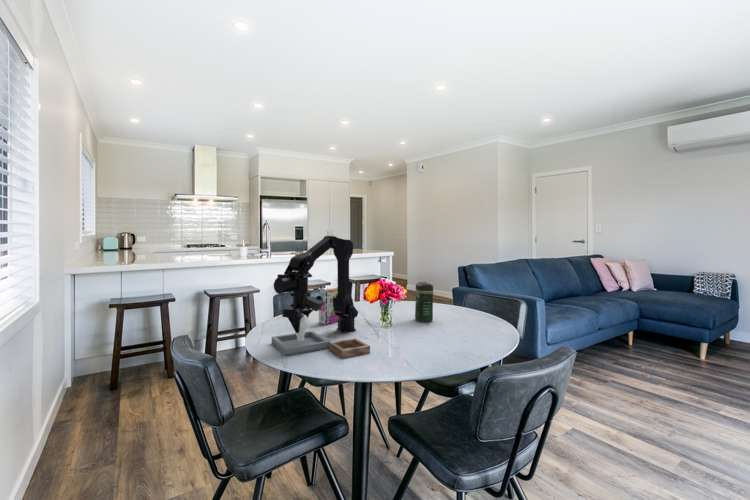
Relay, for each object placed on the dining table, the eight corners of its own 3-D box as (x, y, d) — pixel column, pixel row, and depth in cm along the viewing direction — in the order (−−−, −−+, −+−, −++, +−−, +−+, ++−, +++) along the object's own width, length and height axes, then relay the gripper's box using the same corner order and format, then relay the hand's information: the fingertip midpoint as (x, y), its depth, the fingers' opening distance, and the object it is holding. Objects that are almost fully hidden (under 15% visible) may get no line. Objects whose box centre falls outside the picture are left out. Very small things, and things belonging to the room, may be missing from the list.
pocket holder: (355, 344, 146) (355, 338, 146) (370, 352, 137) (370, 345, 136) (329, 349, 140) (329, 342, 140) (342, 358, 131) (342, 351, 131)
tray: (312, 336, 156) (312, 330, 156) (330, 348, 141) (330, 341, 141) (271, 343, 147) (271, 336, 147) (286, 356, 132) (286, 349, 132)
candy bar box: (326, 325, 173) (326, 290, 172) (318, 323, 176) (318, 288, 175) (342, 320, 182) (342, 286, 181) (334, 319, 185) (334, 285, 184)
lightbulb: (301, 345, 140) (300, 316, 139) (288, 343, 143) (288, 314, 142) (312, 341, 145) (311, 313, 144) (300, 339, 148) (300, 311, 148)
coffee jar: (434, 322, 181) (435, 283, 180) (418, 322, 180) (419, 284, 178) (428, 317, 190) (429, 280, 189) (413, 317, 189) (413, 281, 188)
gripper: (310, 295, 132) (310, 339, 133) (329, 286, 150) (329, 325, 151) (281, 294, 134) (281, 337, 135) (302, 285, 153) (303, 323, 154)
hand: (300, 330), depth 144 cm, fingers closed on lightbulb, 5 cm apart
